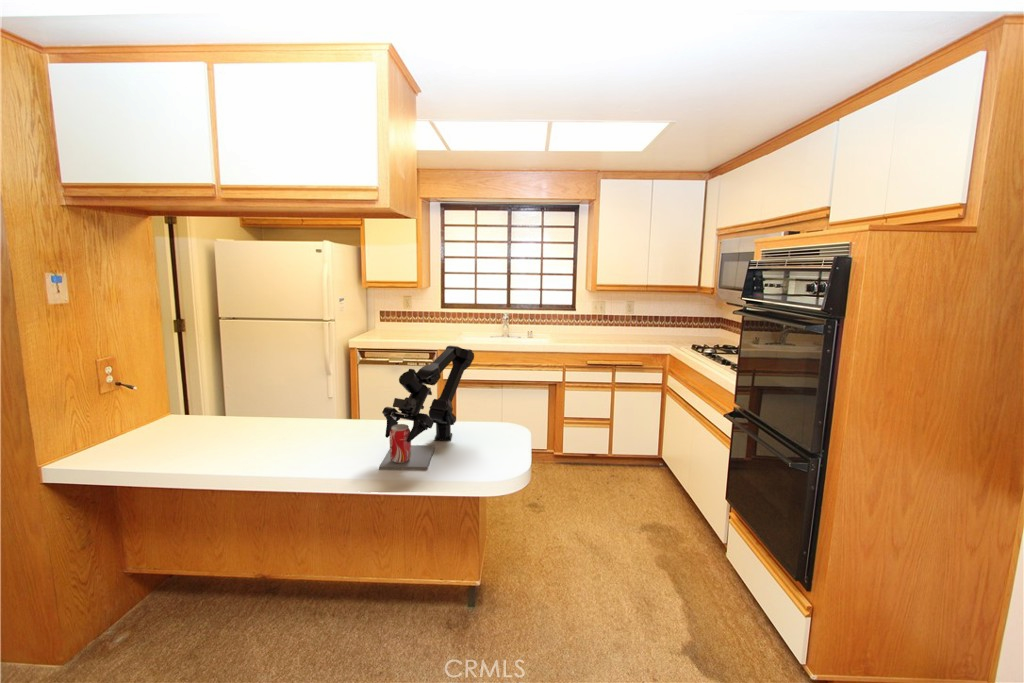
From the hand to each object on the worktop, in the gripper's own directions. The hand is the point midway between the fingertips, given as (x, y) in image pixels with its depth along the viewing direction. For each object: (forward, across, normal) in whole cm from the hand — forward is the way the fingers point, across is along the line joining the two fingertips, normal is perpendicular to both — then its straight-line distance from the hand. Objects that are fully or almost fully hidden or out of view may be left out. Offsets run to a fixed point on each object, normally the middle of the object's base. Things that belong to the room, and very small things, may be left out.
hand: (396, 439), depth 153 cm
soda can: (+5, 0, +7) cm, 8 cm away
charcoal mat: (+2, 0, +10) cm, 11 cm away
